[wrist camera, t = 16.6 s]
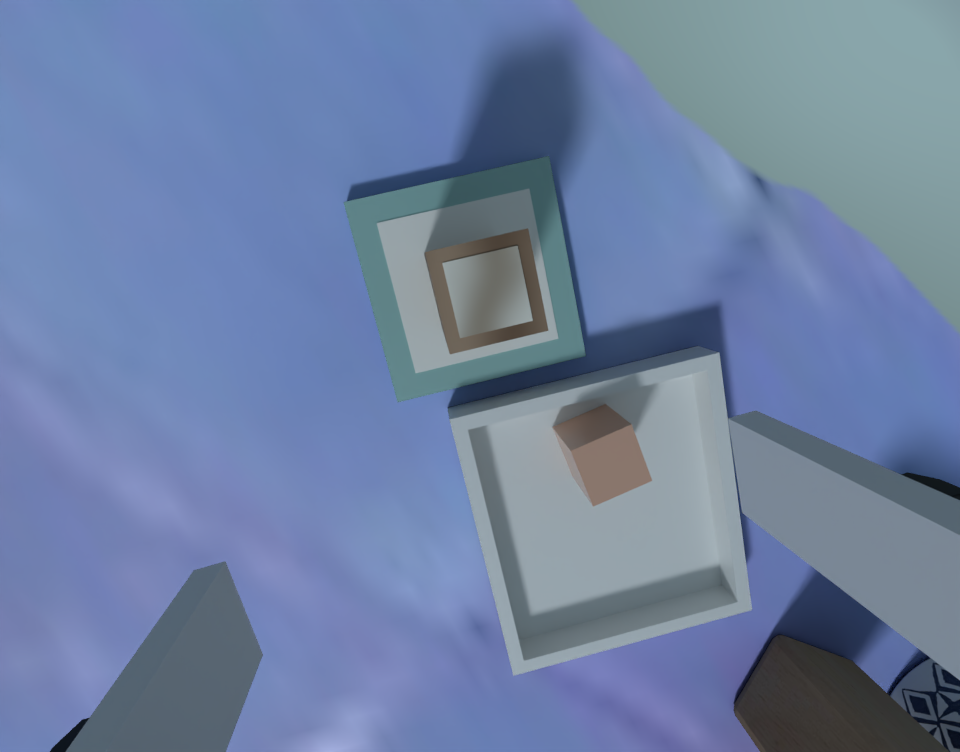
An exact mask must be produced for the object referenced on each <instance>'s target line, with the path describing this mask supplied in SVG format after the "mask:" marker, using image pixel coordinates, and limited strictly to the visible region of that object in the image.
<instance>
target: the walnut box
mask: <svg viewBox="0 0 960 752" xmlns="http://www.w3.org/2000/svg"><path fill="white" fill-rule="evenodd" d="M424 256H425V260H426V264H427V268H428V272H429V277H430V281H431V285H432V289H433V293H434V297H435V301H436V305H437V309H438V314H439V318H440V322H441V326H442V330H443V333H444V337H445V340H446V343H447V347H448V350H449V353H450V354H454V353H458V352H462V351H466V350H471V349H475V348H479V347H483V346H487V345H491V344H495V343H500V342H504V341H508V340H512V339H516V338H520V337H524V336H528V335H533V334H537V333H541V332H545V331H548V325H547V320H546V315H545V310H544V305H543V300H542V295H541V290H540V285H539V280H538V275H537V270H536V265H535V260H534V255H533V250H532V245H531V240H530V235H529V230H528V228H527V229H523V230H518V231H514V232H510V233H505V234H501V235H497V236H492V237H488V238H484V239H479V240H475V241H471V242H466V243H462V244H458V245H453V246H449V247H445V248H440V249H436V250H432V251H428V252H425V253H424Z"/></svg>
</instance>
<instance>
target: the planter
mask: <svg viewBox="0 0 960 752" xmlns="http://www.w3.org/2000/svg"><path fill="white" fill-rule="evenodd" d="M890 697H891V698H892V699H894V700H895V701H896V702H897V703H898V704H899V705H900V706H901V707H902V708H903V709H904V710H905V711H906V712H907V713H909V714H910V715H911V716H912V717H913V718H914V719H915V720H916V721H917V722H918V723H919V724H920V725H921V726H922V727H924V728H925V729H926V730H927V731H928V732H929V733H930V734H931V735H932V736H933V737H934V738H935V739H936V740H937V741H939V742H940V743H941V744H942V745H943V746H944V747H945V748H946V749H947V750H948V751H949V752H960V680H959V679H957V678H956V677H955V676H953V675H952V674H951V673H950V672H948V671H947V670H946V669H944V668H943V667H942V666H940V665H939V664H938V663H937V662H935V661H934V660H933V659H931V658H930V659H928V660H926V661H924V662H922V663H921V664H919V665H918V666H917V667H915V668H914V669H912V670H911V671H910V672H909V673H908V674H907V675H906V676H905V677H904V678H903V679H902V680H901V681H900V682H899V683H898V685H897V686H896V687H895V689H894V690H893V692H892V693H891V695H890Z"/></svg>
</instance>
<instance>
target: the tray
mask: <svg viewBox="0 0 960 752" xmlns="http://www.w3.org/2000/svg"><path fill="white" fill-rule="evenodd" d="M604 404H606V405H608V406H609V407H610V408H612V409H613V410H614V411H615V412H617V413H618V414H619V415H620V416H622V417H623V418H624V419H625V420H627V421H628V422H629V423H631V424H632V427H633V430H634V432H635V435H636V438H637V440H638V443H639V446H640V449H641V451H642V454H643V457H644V459H645V462H646V465H647V468H648V470H649V473H650V476H651V478H652V481H651V482H648V483H646V484H644V485H641V486H639V487H637V488H635V489H632V490H630V491H628V492H626V493H623V494H621V495H619V496H616V497H614V498H612V499H610V500H607V501H605V502H603V503H601V504H598V505H596V506H594V507H593V506H592V504H591V503H590V501H589V500H588V498H587V497H586V496H585V494H584V493H583V491H582V490H581V488H580V487H579V485H578V484H577V483H576V481H575V480H574V478H573V477H572V474H571V472H570V470H569V467H568V465H567V462H566V460H565V457H564V455H563V452H562V450H561V447H560V445H559V443H558V440H557V438H556V435H555V433H554V430H553V428H552V427H554V426H556V425H558V424H560V423H563V422H565V421H567V420H570V419H572V418H574V417H576V416H579V415H581V414H583V413H586V412H588V411H590V410H592V409H595V408H597V407H599V406H602V405H604ZM448 413H449V419H450V423H451V427H452V431H453V435H454V439H455V443H456V447H457V451H458V455H459V459H460V463H461V467H462V471H463V475H464V479H465V483H466V487H467V491H468V495H469V499H470V503H471V507H472V511H473V515H474V519H475V523H476V527H477V531H478V535H479V539H480V543H481V547H482V551H483V555H484V559H485V563H486V567H487V571H488V575H489V579H490V583H491V587H492V591H493V595H494V599H495V603H496V607H497V611H498V615H499V619H500V623H501V627H502V631H503V635H504V639H505V643H506V647H507V651H508V655H509V659H510V663H511V667H512V671H513V675H518V674H522V673H525V672H529V671H533V670H536V669H540V668H544V667H547V666H551V665H554V664H558V663H562V662H565V661H569V660H573V659H576V658H580V657H583V656H587V655H591V654H594V653H598V652H602V651H605V650H609V649H612V648H616V647H620V646H623V645H627V644H631V643H634V642H638V641H642V640H645V639H649V638H652V637H656V636H660V635H663V634H667V633H671V632H674V631H678V630H681V629H685V628H689V627H692V626H696V625H700V624H703V623H707V622H710V621H714V620H718V619H721V618H725V617H729V616H732V615H736V614H739V613H743V612H747V611H750V610H752V606H751V598H750V591H749V583H748V575H747V567H746V559H745V551H744V543H743V535H742V527H741V520H740V512H739V504H738V496H737V488H736V480H735V472H734V464H733V456H732V448H731V441H730V433H729V425H728V417H727V409H726V401H725V393H724V385H723V377H722V370H721V362H720V354H719V352H716V351H713V350H710V349H706V348H703V347H700V346H696V347H692V348H688V349H683V350H679V351H675V352H671V353H667V354H663V355H659V356H655V357H651V358H647V359H643V360H639V361H635V362H631V363H627V364H623V365H619V366H615V367H611V368H607V369H603V370H599V371H595V372H590V373H586V374H582V375H578V376H574V377H570V378H566V379H562V380H558V381H554V382H550V383H546V384H542V385H538V386H534V387H530V388H526V389H522V390H518V391H514V392H510V393H506V394H501V395H497V396H493V397H489V398H485V399H481V400H477V401H473V402H469V403H465V404H461V405H457V406H453V407H449V408H448Z"/></svg>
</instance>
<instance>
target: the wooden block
mask: <svg viewBox="0 0 960 752" xmlns="http://www.w3.org/2000/svg"><path fill="white" fill-rule="evenodd" d="M734 713H735V716H736V717H737V719H738V720H739V721H740V723H741V724H742V726H743V727H744V729H745V730H746V732H747V733H748V735H749V736H750V737H751V739H752V740H753V742H754V743H755V745H756V746H757V748H758V749H759V751H760V752H949V751H948V750H947V749H946V748H945V747H944V746H943V745H942V744H941V743H940V742H939V741H937V740H936V739H935V738H934V737H933V736H932V735H931V734H930V733H929V732H928V731H927V730H926V729H925V728H924V727H922V726H921V725H920V724H919V723H918V722H917V721H916V720H915V719H914V718H913V717H912V716H911V715H910V714H909V713H907V712H906V711H905V710H904V709H903V708H902V707H901V706H900V705H899V704H898V703H897V702H896V701H895V700H894V699H892V698H891V697H890V696H889V695H888V694H887V693H886V692H885V691H884V690H883V689H882V688H881V687H880V686H879V685H877V684H876V683H875V682H874V681H873V680H872V679H871V678H870V677H869V676H868V675H867V674H866V673H865V672H864V671H862V670H861V669H860V668H859V667H858V666H857V665H856V664H855V663H854V662H853V661H851V660H849V659H846V658H843V657H841V656H838V655H835V654H833V653H830V652H827V651H824V650H822V649H819V648H816V647H814V646H811V645H808V644H805V643H803V642H800V641H797V640H794V639H792V638H789V637H786V636H784V635H777V636H776V637H775V638H773V639H772V641H771V643H770V645H769V646H768V648H767V650H766V651H765V653H764V655H763V656H762V658H761V660H760V662H759V663H758V665H757V667H756V668H755V670H754V672H753V673H752V675H751V677H750V679H749V680H748V682H747V684H746V685H745V687H744V689H743V690H742V692H741V694H740V696H739V697H738V699H737V701H736V702H735V704H734Z"/></svg>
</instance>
